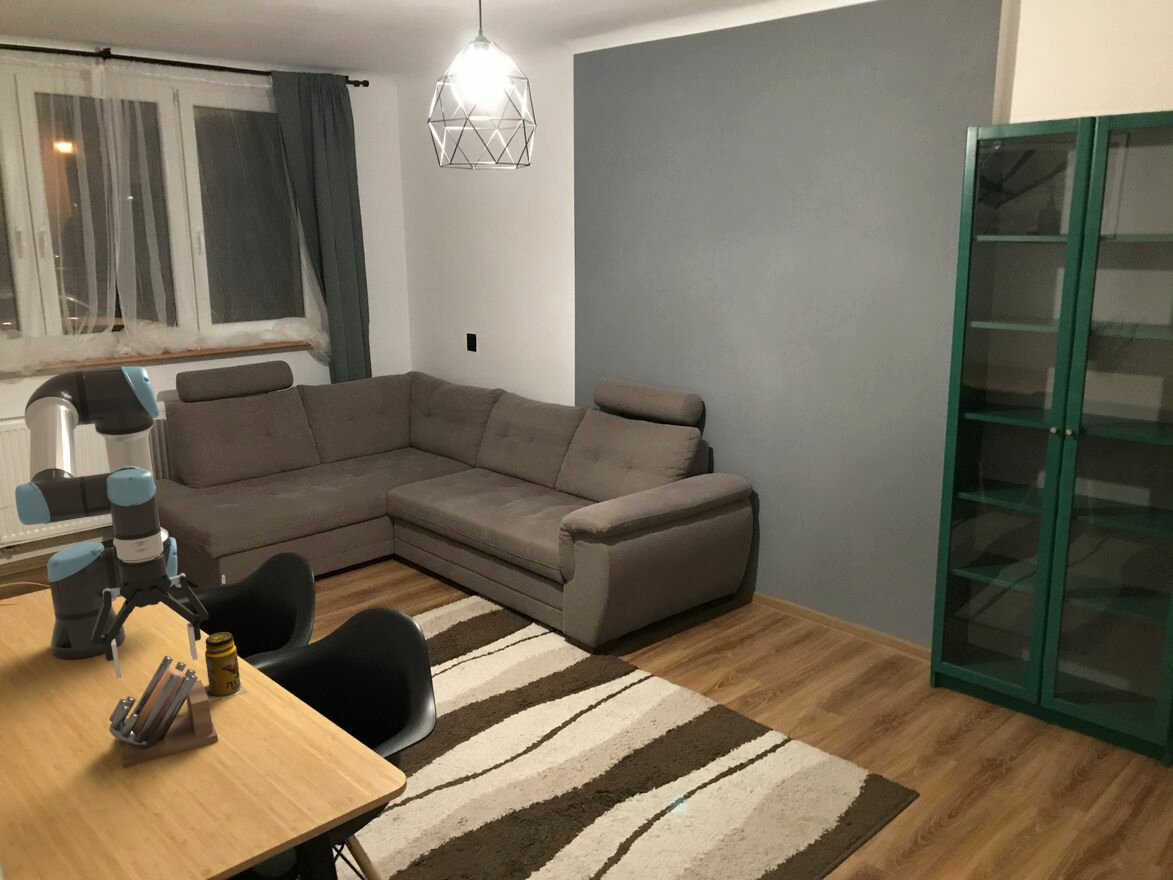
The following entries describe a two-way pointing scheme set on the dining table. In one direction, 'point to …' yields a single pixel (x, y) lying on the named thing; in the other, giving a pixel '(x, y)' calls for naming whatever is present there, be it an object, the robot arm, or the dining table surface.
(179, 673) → the peg
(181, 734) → the socket base
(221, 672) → the condiment
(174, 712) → the socket
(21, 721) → the dining table surface
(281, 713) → the dining table surface
